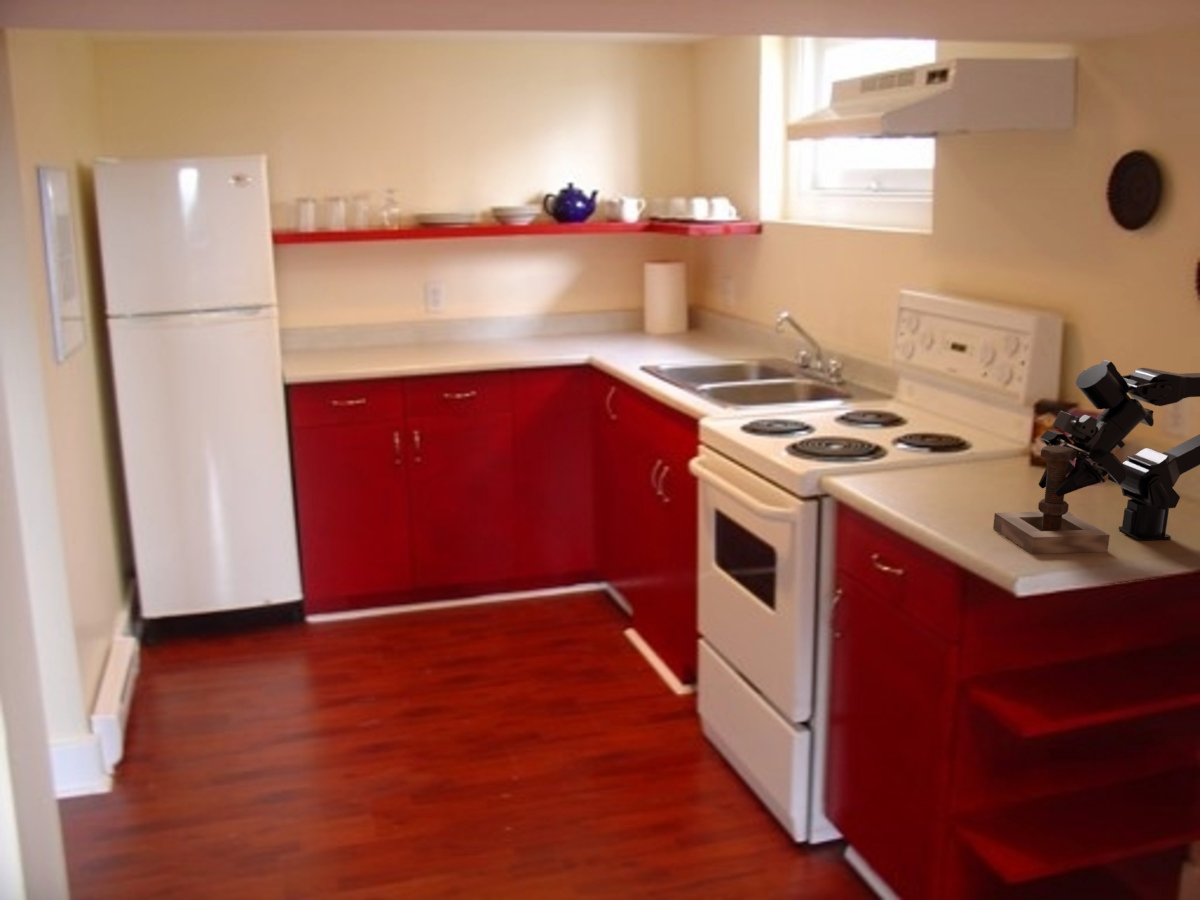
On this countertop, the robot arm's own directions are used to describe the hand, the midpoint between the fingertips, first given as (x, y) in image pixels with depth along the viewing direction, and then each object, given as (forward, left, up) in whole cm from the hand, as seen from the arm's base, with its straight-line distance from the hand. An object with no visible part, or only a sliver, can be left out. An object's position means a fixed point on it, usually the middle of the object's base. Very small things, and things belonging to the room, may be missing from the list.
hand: (1048, 490), depth 202 cm
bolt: (-1, 0, -8) cm, 8 cm away
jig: (-1, 0, -9) cm, 9 cm away
